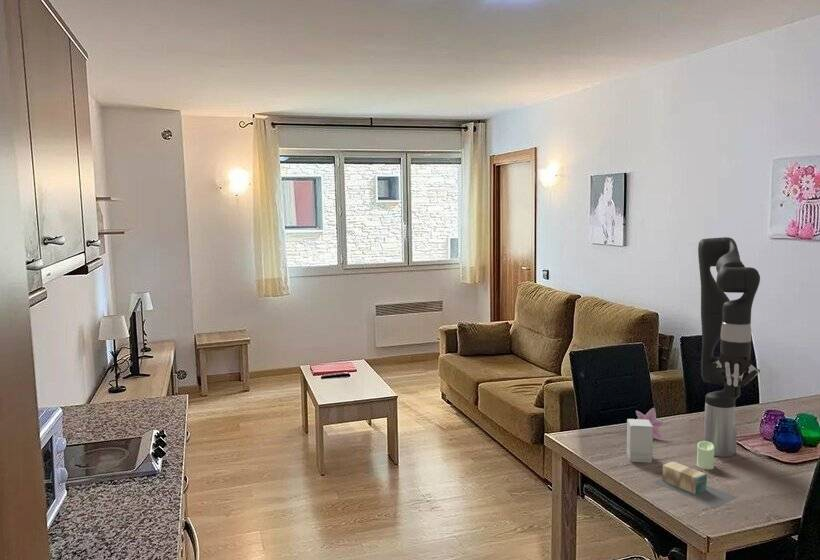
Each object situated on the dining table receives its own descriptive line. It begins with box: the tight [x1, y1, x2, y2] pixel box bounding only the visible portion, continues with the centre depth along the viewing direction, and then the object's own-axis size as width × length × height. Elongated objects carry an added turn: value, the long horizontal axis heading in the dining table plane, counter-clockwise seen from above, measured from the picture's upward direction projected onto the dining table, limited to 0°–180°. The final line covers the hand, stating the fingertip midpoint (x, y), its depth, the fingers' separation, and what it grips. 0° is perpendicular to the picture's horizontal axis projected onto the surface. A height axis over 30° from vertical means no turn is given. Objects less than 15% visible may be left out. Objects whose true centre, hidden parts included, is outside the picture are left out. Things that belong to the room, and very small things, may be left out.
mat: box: [653, 478, 738, 509], centre depth 181 cm, size 20×11×1 cm, turn 32°
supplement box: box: [626, 418, 654, 464], centre depth 205 cm, size 7×7×13 cm
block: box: [661, 461, 708, 494], centre depth 183 cm, size 5×5×11 cm
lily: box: [635, 407, 665, 441], centre depth 225 cm, size 12×12×10 cm
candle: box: [696, 440, 715, 470], centre depth 196 cm, size 5×5×8 cm
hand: (733, 398), depth 171 cm, fingers closed
